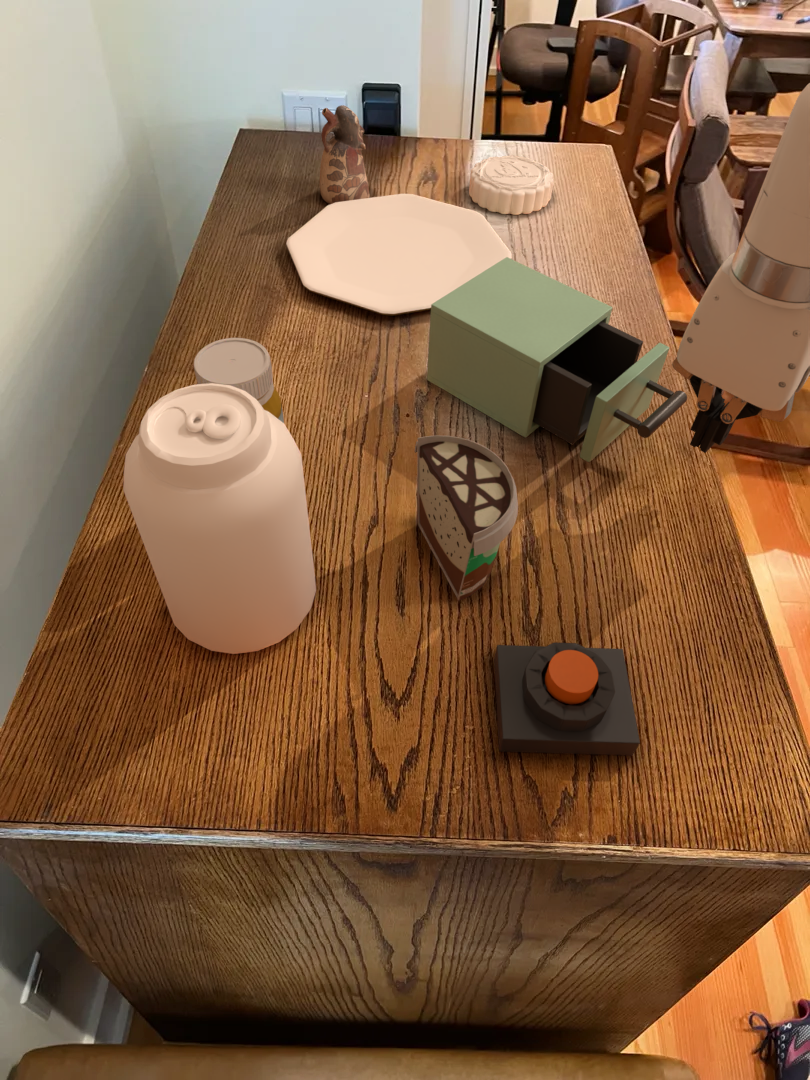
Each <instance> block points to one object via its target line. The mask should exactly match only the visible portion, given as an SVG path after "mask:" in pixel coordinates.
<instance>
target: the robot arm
mask: <svg viewBox="0 0 810 1080" xmlns="http://www.w3.org/2000/svg"><path fill="white" fill-rule="evenodd" d="M758 192H759V193H758V195H757V198H756V200H755V202H754V205H753V208H752V210H751V213H750V216H749V219H748V221H747V223H746V226H745V228H744V230H743V232H742V235H741V237H740V240H739V243H738V245H737V247H736V250H735V251H734V252H732V253H730V254H729V255H727V257H726V259H725V260H723V262H722V263H721V265H720V267H719V268H718V269H717V271H716V273H715V274H714V276H713V277H712V279H711V281H710V282H709V284H708V286H707V287H706V290H705V291H704V293H703V295H702V297H701V299H700V301H699V303H698V304H697V306H696V308H695V310H694V312H693V314H692V316H691V318H690V320H689V323H688V325H687V326H686V329H685V331H684V333H683V335H682V338H681V340H680V343H679V346H678V349H677V353H676V357H675V358H674V360H672V362H671V366H672V368H673V370H675V371H676V372H677V373H678V374H679V375H681V376H682V377H683V378H684V379H686V380H689V384H690V385H691V388H692V390H693V392H694V394H695V396H696V398H697V399H696V407H697V409H698V410H697V413H696V415H695V418H694V420H693V421H692V424H691V427H690V431H692V432H694V434H693V436H692V438H691V441H690V442H689V446H692V447H693V448H698V449H699V451H701V452H702V453H704V454H706V453H707V452H708V451H710V449H712V447H713V446H714V445H715V444H716V445H718V446H721V445H722V444H723V443H725V441H726V439H727V438H728V437H729V434H730V432H731V430H732V428H733V426H734V424H735V422H736V421H737V420H742V419H746V418H751V417H755V416H760V417H761V418H763V419H767V420H770V421H771V420H772V421H774V422H777V423H781V422H783V421H785V420H786V418H788V416H789V415H791V412H792V408H793V404H794V399H795V394H796V393H799V392H800V391H801V390H802V388H803V387H804V385H805V384H806V382H807V380H808V379H809V377H810V82H809V83H808V84H807V85H806V86H805V87H804V88H803V89H802V91H801V92H800V93H799V95H798V97H797V98H796V100H795V103H794V105H793V107H792V109H791V111H790V114H789V117H788V120H787V122H786V124H785V127H784V129H783V131H782V134H781V137H780V140H779V142H778V143H777V147H776V150H775V152H774V154H773V157H772V159H771V162H770V164H769V167H768V169H767V172H766V175H765V177H764V179H763V182H762V184H761V188H760V190H759V191H758ZM725 392H727V393H728V394H731V395H733V396H732V398H731V399H730V401H728V402H727V403H725V401H726V399H725V398H723V395H724V393H725Z"/></svg>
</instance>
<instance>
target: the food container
mask: <svg viewBox="0 0 810 1080" xmlns="http://www.w3.org/2000/svg"><path fill="white" fill-rule="evenodd" d="M414 446H415V447H414V453H415V454H416V453H417V455H416V457H417V459H416V460H417V461H416V463H417V467H416V473H417V474H416V475H417V477H416V478H417V481H416V482H417V483H416V484H417V486H416V487H417V488H416V489H417V497H416V498H417V502H416V503H417V504H416V506H417V507H416V508H417V509H416V511H417V516H416V517H417V519H416V520H417V521H416V522H417V526H418V528H419V530H420V531H421V534H422V535H423V537H424V539H425V541H426V542H427V544H428V546H429V549H430V550H431V552H432V554H433V556H434V557H435V560H436V561H437V563H438V565H439V567H440V570H441V571H442V573H443V574H444V577H445V578H446V580H447V582H448V584H449V585H450V587H451V589H452V591H453V593H454V595H455V596H456V599H457V601H458V602H459V601H462V600H464V599H466V598H469V597H471V596H473V595H474V594H475V593H476V592H477V591H480V589H481V588H483V587H484V586H485V584H486V582H487V580H488V579H489V577H490V576H491V574H492V570H493V567H494V564H495V561H496V557H497V554H498V551H499V548H500V545H501V543H502V542H503V541H504V540H505V539H506V538H507V536H508V535H509V534H510V533H511V531H512V530H513V528H514V527H515V524H516V521H517V518H518V513H519V502H518V492H517V491H518V490H517V485H516V481H515V479H514V477H513V475H512V473H511V471H510V469H509V467H508V465H507V464H506V463H505V462H504V461H503V459H502V458H501V457H500V456H498V455H497V454H496V452H494V451H492V450H491V449H490V448H488V447H487V446H485V445H483V444H481V443H479V442H477V441H473V440H471V439H468V438H464V437H459V436H452V435H446V434H445V435H441V434H440V435H439V434H436V435H426V436H421V437H417V441H416V442H415V445H414Z"/></svg>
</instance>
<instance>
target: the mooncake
mask: <svg viewBox="0 0 810 1080" xmlns="http://www.w3.org/2000/svg"><path fill="white" fill-rule="evenodd" d="M554 182H555V181H554V174H553V172H551V171H550V169H549V167H547V166H545V164H542V163H541V162H539V161H534V160H533V159H531V158H528V157H526V156H517V155H515V154H511V155H501V156H489V157H488V158H484V159H482V160H481V161H479V162H476V163H475V164H474V166H473V167H472V168H471V169H470V175H469V184H468V185H469V186H468V195H469V196H470V198H471V200H472V201H473V203H475V204H478V206H479V207H480V208H483V209H487V210H488V211H489V212H492V213H496V212H497V213H499V214H501V215H508V214H511V215H513V216H518V215H520V214H525V215H529V214H531V213H533V212H538V211H540V210H541V209H542V208H545V207H547V206H548V205H549V204H548V203H549V202H550V201H551V199H552V193H553V187H554Z"/></svg>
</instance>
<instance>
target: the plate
mask: <svg viewBox="0 0 810 1080" xmlns="http://www.w3.org/2000/svg"><path fill="white" fill-rule="evenodd" d="M285 244H286V248H287V250H288V253H289V255H290V258H291V259H292V260H291V261H292V262H293V265H294V267H295V270H296V272H297V274H298V277H299V279H300V282H301V284H302V286H303V288H305V289H306V290H308V291H309V292H310V293H314V294H316V295H320V296H323V297H326V298H329V299H331V300H335V301H338V302H341V303H344V304H348V305H351V306H354V307H357V308H360V309H363V310H366V311H369V312H372V313H374V314H378V315H382V316H392V317H394V316H399V315H406V314H411V313H417V312H424V311H431V304H433V303H434V302H436V301H437V300H439V299H441V298H442V297H444V296H445V295H447V294H449V293H450V292H452V291H453V290H455V289H457V288H458V287H460V286H461V285H463V284H464V283H466V282H468V281H469V280H471V279H472V278H474V277H476V276H477V275H479V274H480V273H482V272H484V271H485V270H487V269H488V268H490V267H492V266H493V265H495V264H496V263H498V262H500V261H501V260H503V259H504V258H506V257H508V258H510V259H512V258H513V257H512V256H513V255H512V251H511V250H510V249H509V248H508V246H507V245H506V244H505V242H504V241H503V239H502V238H501V237H500V236H499V234H498V233H497V232H496V231H495V229H494V228H493V227H492V225H491V223H490V222H489V221H488V220H487V219H486V217H485V216H484V214H482V213H480V212H478V211H476V210H473V209H468V208H465V207H462V206H458V205H455V204H450V203H447V202H443V201H439V200H435V199H432V198H428V197H424V196H420V195H417V194H414V193H395V194H389V195H388V194H387V195H380V196H373V197H369V198H365V199H358V200H350V201H343V202H335V203H333V204H328V205H326V206H325V207H324V208H322V209H321V210H320V211H319V212H318V213H316V215H314V216H313V217H312V218H310V219H309V220H308V221H307V222H305V224H304V225H301V227H300V228H299V229H298V230H296V231H295V232H293V234H291V235H290V236H289V237H288V238H287V240H286V243H285Z"/></svg>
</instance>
